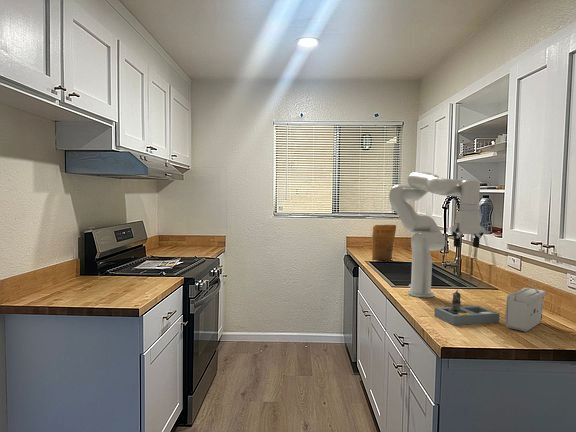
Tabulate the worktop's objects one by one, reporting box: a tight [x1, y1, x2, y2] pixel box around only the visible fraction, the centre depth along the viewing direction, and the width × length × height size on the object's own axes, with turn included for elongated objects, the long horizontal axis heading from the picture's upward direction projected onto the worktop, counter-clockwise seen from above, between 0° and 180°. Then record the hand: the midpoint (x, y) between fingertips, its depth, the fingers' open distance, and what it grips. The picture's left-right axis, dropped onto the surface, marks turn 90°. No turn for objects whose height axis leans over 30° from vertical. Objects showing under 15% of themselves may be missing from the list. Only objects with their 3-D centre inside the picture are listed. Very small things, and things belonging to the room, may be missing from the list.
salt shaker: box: [448, 290, 464, 314], centre depth 163 cm, size 6×6×12 cm
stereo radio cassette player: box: [504, 278, 547, 333], centre depth 158 cm, size 21×8×20 cm, turn 133°
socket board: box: [434, 305, 501, 326], centre depth 164 cm, size 12×21×4 cm, turn 105°
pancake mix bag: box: [371, 224, 397, 261], centre depth 314 cm, size 7×19×28 cm, turn 95°
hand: (466, 247), depth 179 cm, fingers open, 9 cm apart
